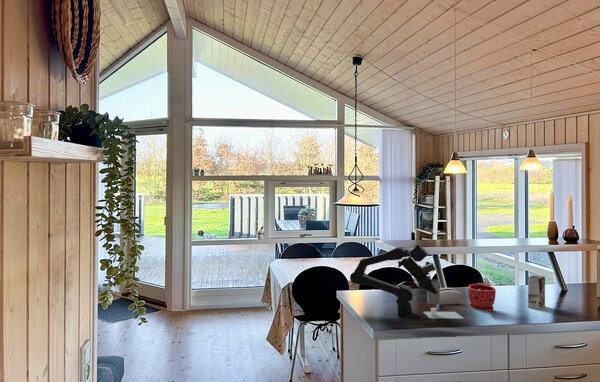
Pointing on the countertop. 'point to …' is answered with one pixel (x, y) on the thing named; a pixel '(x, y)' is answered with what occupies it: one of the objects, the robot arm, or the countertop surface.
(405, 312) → the robot arm
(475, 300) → the plant pot
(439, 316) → the base plate
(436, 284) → the steel sleeve
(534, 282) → the coffee box
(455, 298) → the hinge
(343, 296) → the countertop surface
